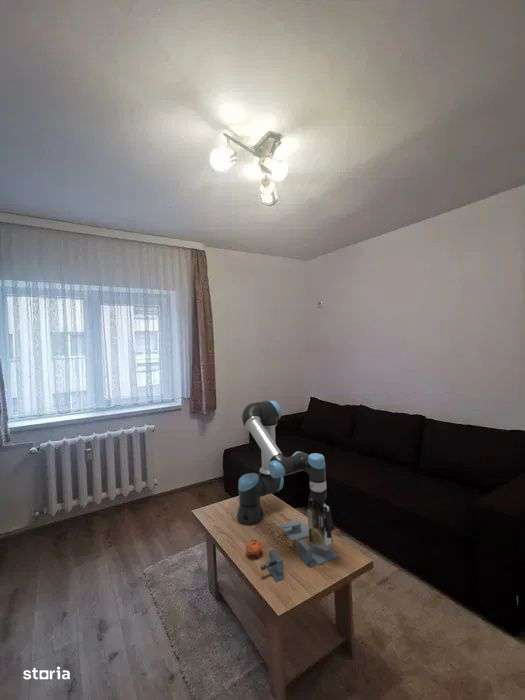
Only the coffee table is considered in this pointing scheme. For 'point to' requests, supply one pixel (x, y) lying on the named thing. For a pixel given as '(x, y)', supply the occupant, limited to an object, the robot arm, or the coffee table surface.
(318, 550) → the pad
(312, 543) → the coffee box
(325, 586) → the coffee table surface
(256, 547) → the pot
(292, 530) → the shower valve
